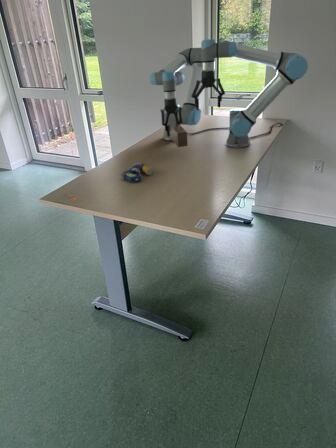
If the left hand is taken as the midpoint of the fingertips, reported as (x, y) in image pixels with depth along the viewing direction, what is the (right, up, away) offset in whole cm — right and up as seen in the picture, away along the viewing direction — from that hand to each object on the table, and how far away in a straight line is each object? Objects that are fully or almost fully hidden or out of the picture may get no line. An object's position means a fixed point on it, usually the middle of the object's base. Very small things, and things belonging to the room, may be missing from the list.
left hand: (172, 134), depth 220 cm
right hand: (+21, +11, -18) cm, 30 cm away
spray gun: (-20, -31, -28) cm, 46 cm away
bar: (+2, -5, -8) cm, 10 cm away
